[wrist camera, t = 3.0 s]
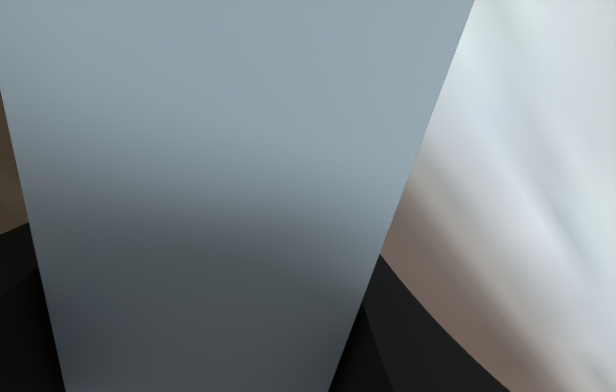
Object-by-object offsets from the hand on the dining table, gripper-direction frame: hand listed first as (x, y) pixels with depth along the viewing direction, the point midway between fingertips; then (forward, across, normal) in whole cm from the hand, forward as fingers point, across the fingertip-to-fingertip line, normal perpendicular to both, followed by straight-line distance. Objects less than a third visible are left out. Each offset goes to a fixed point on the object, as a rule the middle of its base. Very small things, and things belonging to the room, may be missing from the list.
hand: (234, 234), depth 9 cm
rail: (+1, 0, 0) cm, 1 cm away
